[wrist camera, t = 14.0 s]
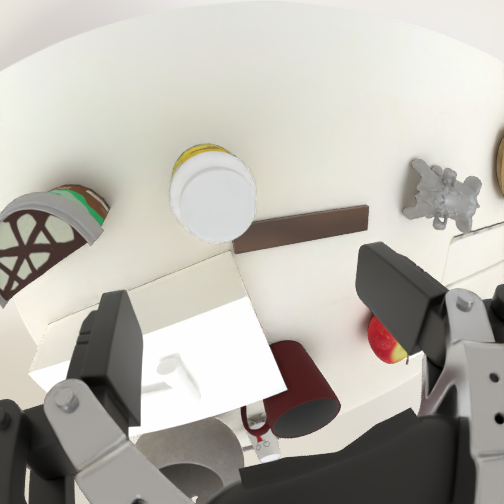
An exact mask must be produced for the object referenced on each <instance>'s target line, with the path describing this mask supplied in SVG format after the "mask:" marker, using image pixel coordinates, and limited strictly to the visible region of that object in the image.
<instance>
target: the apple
mask: <svg viewBox="0 0 504 504" xmlns="http://www.w3.org/2000/svg"><path fill="white" fill-rule="evenodd" d="M368 340H369V343H370V346H371V348H372V350H373V352H374V353H375V354H376V356H377V357H378V358H379V359H381V360H382V361H383V362H385V363H388V364H394V363H396V362H399V361H401V360H403V359H405V358H406V357H407V361H406V365H407V364H408V360H409V355H408V354H407V352H406V351H405V350H404V349H403V348H402V346H401V345H400V344H399V343H398V342H397V341H396V339H395V338H394V337H393V336H392V335H391V334H390V332H389V331H388V330H387V329H386V328H385V327H384V325H383V324H382V323H381V322H380V321H379V320H378V319H377V317H376V316H375V315H374V316H373V318H372V319H371V321H370V323H369V326H368Z"/></svg>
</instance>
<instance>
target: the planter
mask: <svg viewBox="0 0 504 504" xmlns="http://www.w3.org/2000/svg"><path fill="white" fill-rule="evenodd" d="M135 446H136V447H137V448H138V449H139V450H140V451H141V453H142V454H143V455H144V456H145V457H146V458H147V459H148V460H149V461H150V462H151V463H152V464H153V465H154V466H155V467H156V468H157V469H158V470H159V471H160V472H161V473H162V474H163V475H164V476H165V477H166V478H167V479H168V480H169V481H170V482H172V483H173V484H174V485H175V486H176V487H177V488H178V489H179V490H180V491H182V492H183V493H184V494H185V495H186V496H187V497H188V498H190V499H191V498H192V497H194V496H198V498H197V499H196V504H204V502H205V501H206V500H208V499H209V498H210V497H211V496H212V495H213V494H215V493H216V492H217V491H219V490H220V489H222V488H223V487H225V486H227V485H229V484H230V483H232V482H234V481H237V480H239V479H241V477H240V473H239V470H238V469H239V468H244V457H243V451H242V448H241V445H240V443H239V441H238V439H237V437H236V436H235V434H234V433H233V432H232V430H231V429H230V428H229V427H228V426H227V425H225V424H224V423H223V422H221V421H219V420H217V419H215V418H213V417H208V418H205V419H201V420H198V421H194V422H191V423H187V424H183V425H179V426H175V427H171V428H167V429H163V430H158V431H154V432H149V433H145V434H142V435H141V437H140V438H139V439H138V441H137V442H136V444H135Z"/></svg>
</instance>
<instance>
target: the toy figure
mask: <svg viewBox="0 0 504 504" xmlns="http://www.w3.org/2000/svg"><path fill="white" fill-rule="evenodd" d="M261 416H262V420H263V422H262V423H258V424H256V423H255V422H253V421H251V420H247V421H248V425H249V428H250V429H258V428H260V427H262V426H263V425H264V424H265V422H266V413H262V414H261ZM246 433H247V435H248V437H249V439H250V441H251V444H252V445H251V446H250V445H249V446H248V447H247V446H246V447H242V448H243V451H244V452H245V451H249V450H253V449H254V450H255V452H256V454H257V457H258V459H259V461H260V462H261V463H266V462H270V461H274V460H278V459H279V458H280V457H281V453H280V448H279V443H278V439H279V438H280V437H279V438H278V437H277V436H275V435H274V434H273V433H272V431H271V429H269V431H268V432H267V433H266V434H264V435H262V436H253V435H251V434H250V433H248V432H246Z"/></svg>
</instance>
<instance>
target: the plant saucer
mask: <svg viewBox="0 0 504 504" xmlns="http://www.w3.org/2000/svg"><path fill="white" fill-rule="evenodd" d="M496 170H497V178H498V182H499V185H500V188H501V191H502V193H503V195H504V137H503V139H502V141H501V143H500V146H499V150H498V154H497V165H496Z"/></svg>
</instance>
